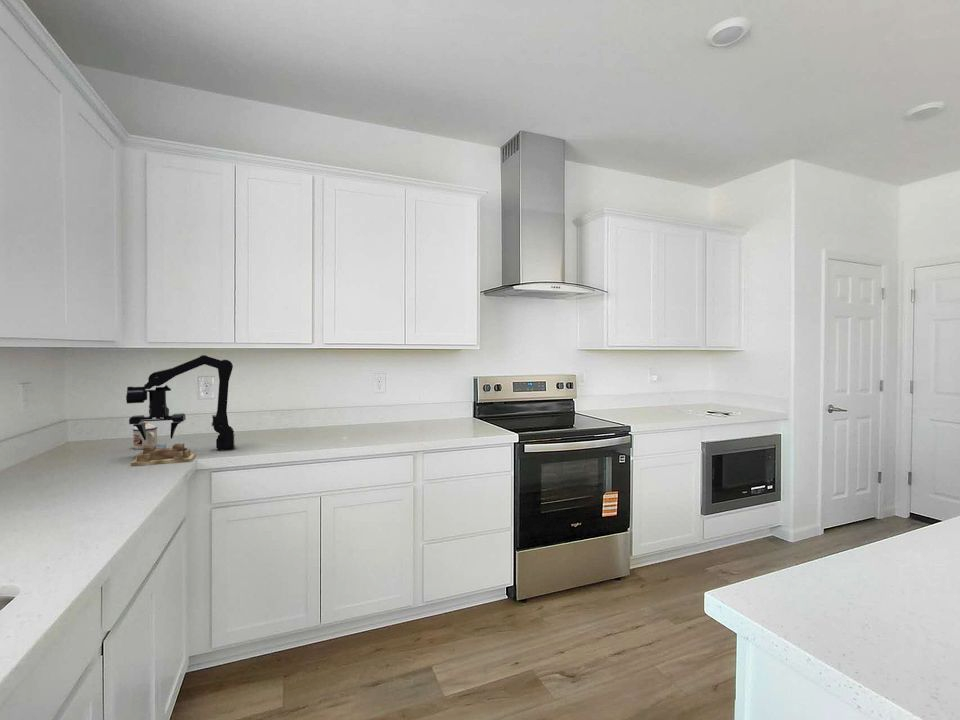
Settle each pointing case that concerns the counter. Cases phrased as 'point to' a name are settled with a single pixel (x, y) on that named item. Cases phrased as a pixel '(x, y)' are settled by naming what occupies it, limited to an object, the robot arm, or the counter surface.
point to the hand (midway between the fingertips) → (158, 439)
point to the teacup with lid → (150, 436)
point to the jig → (178, 457)
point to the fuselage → (163, 451)
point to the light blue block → (161, 446)
